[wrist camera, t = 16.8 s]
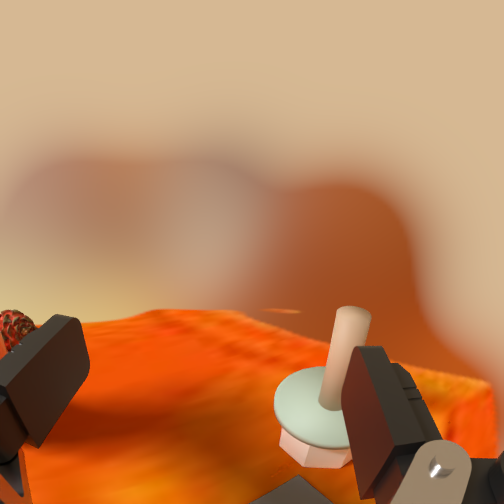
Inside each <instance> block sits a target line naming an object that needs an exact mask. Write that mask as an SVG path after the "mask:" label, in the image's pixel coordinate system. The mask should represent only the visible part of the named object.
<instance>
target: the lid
mask: <svg viewBox="0 0 504 504" xmlns="http://www.w3.org/2000/svg"><path fill="white" fill-rule="evenodd" d="M370 321H371V314H370V313H369V312H368V311H367V310H365V309H362V308H360V307H355V306H344V307H341V308H339V309H338V310H337V314H336V319H335V324H334V329H333V335H332V340H331V345H330V350H329V354H328V359H327V364H326V367H312V368H307V369H303V370H300V371H297V372H295V373H293V374H291V375H289V376H288V377H287V378H285V379H284V380H283V381H282V382H281V383H280V385H279V386H278V388H277V390H276V393H275V398H274V412H275V415H276V418H277V420H278V422H279V423H280V425H281V426H282V427H283V429H284V430H285V431H286V432H287V433H289V434H290V435H291V436H292V437H294V438H295V439H297V440H299V441H301V442H303V443H305V444H307V445H310V446H313V447H316V448H321V449H329V450H343V449H350V445H349V440H348V435H347V430H346V426H345V421H344V417H343V412H342V408H341V392H342V387H343V383H344V380H345V376H346V373H347V369H348V365H349V362H350V358H351V354H352V351H353V349H354V347H355V346H364V345H365V341H366V338H367V334H368V329H369V325H370Z"/></svg>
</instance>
